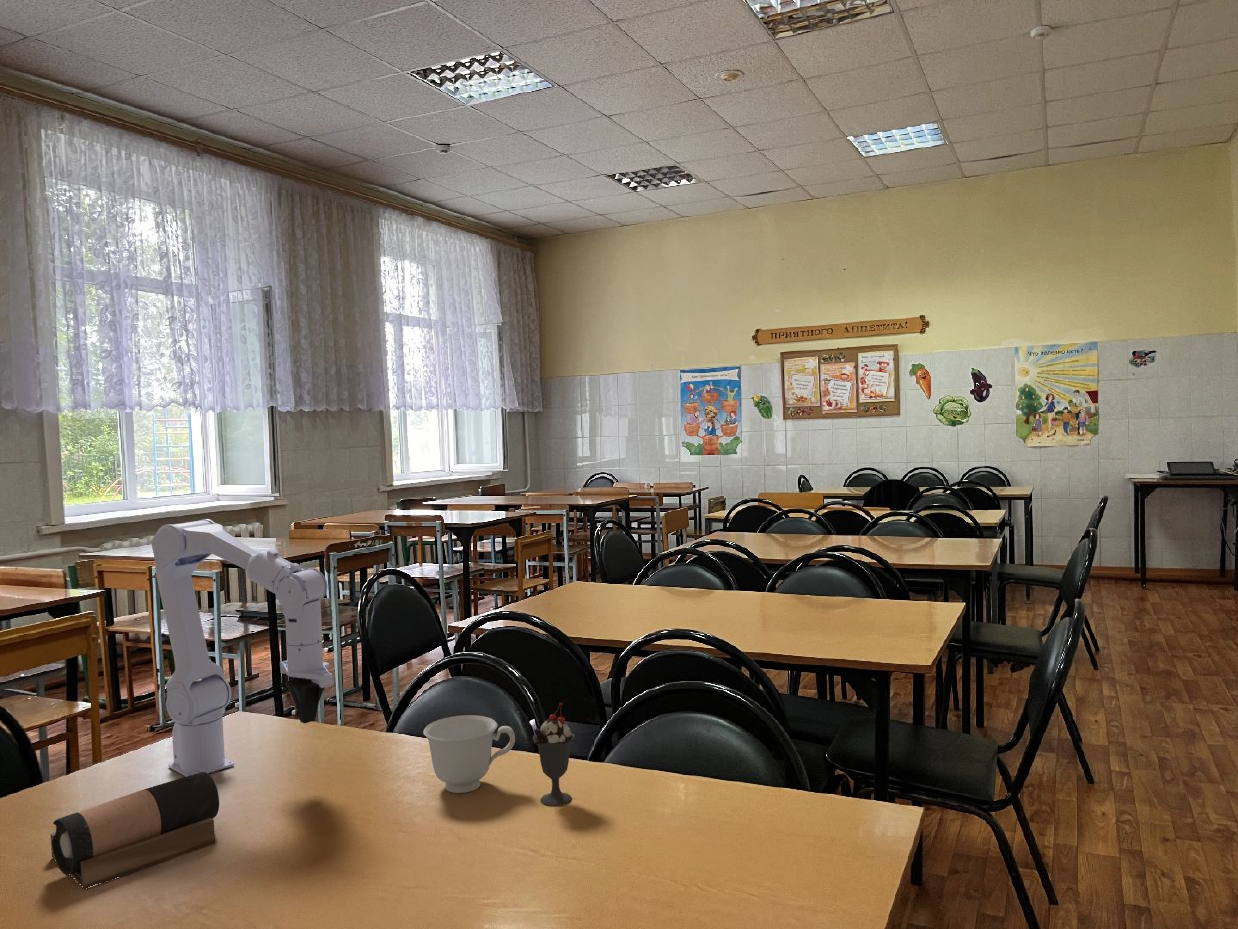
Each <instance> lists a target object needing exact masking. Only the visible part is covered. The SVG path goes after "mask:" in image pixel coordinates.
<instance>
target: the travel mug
mask: <svg viewBox="0 0 1238 929" xmlns="http://www.w3.org/2000/svg"><path fill="white" fill-rule="evenodd" d="M219 795H220V794H219V791H218V787H217V785H216V782H215V781H214V779H213V777H212V775H210V773H206V772H200V773H197V774H193V775H190V776H186V777H185V776H183V777H181V778H177V779H174V780H171V781H166V782H164V783H160V784H156V785H154V786H150V787H148V788H145V789H141V790H138V791H134V792H131V793H129V794H127V795H123V796H121V797H118V798H115V799H111V800H108V801H106V802H103V803H100V804H97V805H94V806H91V807H89V808H85V809H83V810H80V811H77V812H74V813H72V814H68V815H65V816H62V817H59V818H57V819H55V820H54V821H53V823H52V824H53V825H55V832H56V833H55V832H54V833H55V836H54V837H53V838H52V849H53V854H54V857H55V860H56V862H55V863H56V865H57V867H58V868H59V870H60V871H61V873H62V874H64V875H65V876H66V875H69V874H72V873H75V872H78V871H80V870H81V861H84V860H87V859H90V858H93V857H96V856H99V855H102V854H105V853H108V852H111V851H114V850H117V849H120V848H123V847H126V846H129V845H132V844H135V843H138V842H141V841H144V840H147V839H150V838H152V837H155V836H158V835H161V834H164V833H167V832H170V831H173V830H176V829H179V828H182V827H185V826H188V825H191V824H194V823H197V822H200V821H203V820H206V819H209V818H212V819H215V818H216V817H217V816H218V814H219V810H220V796H219ZM69 876H70V875H69Z"/></svg>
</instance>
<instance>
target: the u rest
mask: <svg viewBox="0 0 1238 929" xmlns="http://www.w3.org/2000/svg"><path fill="white" fill-rule="evenodd" d="M214 820H215V818H213V819H212V818H209V819H206V820H203V821H200V822H197V823H194V824H191V825H188V826H185V827H182V828H179V829H176V830H173V831H170V832H167V833H164V834H161V835H158V836H155V837H152V838H150V839H147V840H144V841H141V842H138V843H135V844H132V845H129V846H126V847H123V848H120V849H117V850H114V851H111V852H108V853H105V854H102V855H99V856H96V857H93V858H90V859H87V860H84V861H81V870H80V871H78V872H75V873H72V874H70V875H71V876H72V877H73V878H75V880H76V881H77V882H78V883H79V884H81V886H83V888H84V889H86V888H88V887H90V886H93V885H95V884H99V883H103V884H105V883H104V882H106V881H109V882H111V881H110V880H112V879H114V880H116V879H115V878H117V877H120V878H122V876H123V877H126V876H127V875H128V876H129V875H131V874H134V873H137V872H139V871H143V870H144V869H147V868H150V867H153V866H156V865H159V864H162V863H163V862H168V861H170V860H172V859H176V858H178V857H180V856H183V855H186V854H189V853H193V852H195V851H198V850H201V849H204V848H206V847H209V846H211V845H215V844H216V836H215V823H214V822H215V821H214ZM55 833H56V831H55V832H51V833H50V848H51V849H50V850H51V858H52V857H53V859H55V857H54V854H53V849H52V838H53V837H54V836H55ZM53 859H52V860H53ZM70 875H69V876H70ZM125 875H126V876H125ZM71 876H70V877H71ZM72 877H71V878H72ZM73 878H72V879H73ZM117 879H118V878H117ZM75 880H74V881H75ZM76 881H75V882H76ZM112 881H113V880H112ZM77 882H76V883H77ZM78 883H77V884H78ZM106 883H107V882H106ZM79 884H78V885H79ZM81 886H80V887H81ZM83 888H82V889H83ZM84 889H83V890H84Z"/></svg>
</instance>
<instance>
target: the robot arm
mask: <svg viewBox="0 0 1238 929" xmlns="http://www.w3.org/2000/svg"><path fill="white" fill-rule="evenodd" d="M150 543H151V548H152V551H153V552H152V553H153V558H154V561H155V577H156V582H157V584H158V590H159V594H160V599H161V604H162V608H163V613H164V617H165V624H166V626H167V633H168V636H169V640H170V644H171V650H172V656H173V660H174V663H175V670H174V672H173V673H172V675H171V676H170V678H169V679H168V680H167V682H166V684H165V688H166V702H165V708H166V711H167V714H168V716H169V718H171V720H172V721H174V725H173V728H172V730H171V736H172V737H171V739H172V755H173V762H170V763H168V766H167V767H169V768H170V769H172V770H173V771H175V772H177V773H178V774H180V775H182V776H183V777H186V776H190V775H193V774H197V773H200V772H206V773H208V774H210V773H214V772H217V771H220V770H224V769H227V768H231V767H234V765H235V763H234V762H233V761H232V760H230V759H228V758H225V757H226V756H225V742H224V741H225V738H224V721H223V720H224V719H223V715H224V714H225V713H226V707H227V706H229V704H230V702H231V699H232V688H231V685H230V683H229V681H228V680H227V679H226V677H225V674H224V670H223V667H222V666H220V665H218V664H217V663H215V662H214V661H212V660H210V654H209V651H208V646H207V643H206V638H205V633H204V628H203V623H202V619H201V614H200V610H199V605H198V601H197V597H196V591H195V588H194V583H193V579H192V575H193V574H194V573H195V570H197V568H198V566H199V565H201V564H202V563H203V562H204V561H205V560H206V559H208V558H210V557H211V555H214V556H216V557H218V558H220V559H222V560H224V561H226V562H229V563H231V564H232V565H235V566H238V567H240V568H241V569H243V570H245V571H246V575H247V578H248V579H249V580H250V581H252V582H253V583H255V584H256V585H258V586H261V587H263V588H264V589H266V590H267V591H269V592H271V593H273V594H275V596H276V599H277V601H278V602H279V604H280V605H281V609H282V615H284V616H283V617H284V618H285V620H284V621H285V638H286V640H285V641H286V660H283V661H279V667H280V668H279V669H280V673H281V674H286V675H287V677H291V678H292V679H291V680H287V681H285V683H284V685H285V687H286V689H287V690H288V693H290V695H291V698H292V700H293V702H294V705H295V708H296V713H297V716H298V720H299V722H300V723H302V724H308V723H312V722H315V721H316V718H317V714H318V710H319V709H318V708H319V705H320V701H321V698H322V695H323V692H324V691H325V689H326V688H327V687H332V686H333V685H334V677H333V676H334V675H333V673H332V672H330V671H329V670H328V669H329V668H330V663H329V662H326V661H324V658H323V657H324V655H323V654H324V651H323V649H324V648H323V627H322V626H323V625H322V605H321V604H322V601H321V600H323V598H324V597H325V596H326V594H327V591H328V581H327V579H326V577H325V575H324V574H323V573H322V571H320V570H318V569H317V568H316V567H308V568H303V567H301V565H300V564H299V563H297V562H294V563H293V562H290V561H289V560H287V559H285V558H283V557H282V556H280V553H279V551H277V550H275V549H271V550H265V549H264V550H262V551H259V552H258V551H257V550H255V549H254V548H251V547H250V546H249V545H247V544H245V543H244V542H242V541H241V540H239V539H238V538H236V537H234V536H233V535H231V534H230V533H228V532H227V531H226V530H225V528H224V526H223V525H222V524H220V523H216V522H214V521H213V520H212V519H208V518H203V519H200V520H195V521H187V522H182V523H176V524H175V523H173V524H171V523H169V524H164V525H161V526H160V527H159V529H157V531H156V533H155V534H154V536H153V537H152V539H151V541H150Z"/></svg>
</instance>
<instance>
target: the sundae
mask: <svg viewBox="0 0 1238 929" xmlns="http://www.w3.org/2000/svg"><path fill="white" fill-rule="evenodd" d="M563 705H564V702H559V705H558V706H557V710H556V711H554V713H553V714H550V715H549V717H548V718H547V719H546V720H544V721H543V723H542V724H541V726H540V729H539V727H537V728H536V729H534V730H533V732H534V735H533V736H532V741H533V743H534V745H535V746H537V748H538V754H539V760H540V761H539V762H540V764H541V769H542V772H543V774H545V776H547V777H548V778H549V779H550V780H551V792H549V793H547V794H544V795H543V796H542V797H541V798H540V803H541V804H543V805H545V806H547V807H548V806H549V807H560V806H561V807H562V806H564V804H565V805H567V804H569V803H570V802H572V800H573V797H572V796H571V794H569V793H567V792H562V791H561V788H560V778H561V777H563V776H564V775H565V774H566V772H567V771H568V768H569V761H570V753H571V752H570V750H571V742H572V741H573V740H574V739H575V736H576V735H575V733H572V732H571V729H570V728H569V726H568V725H567V724H566V723H565V722H566V719H565V717H563V715H562V706H563ZM559 709H560V710H559ZM558 710H559V714H560V716H559V717H557V715H556V714H557V713H558Z"/></svg>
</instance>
